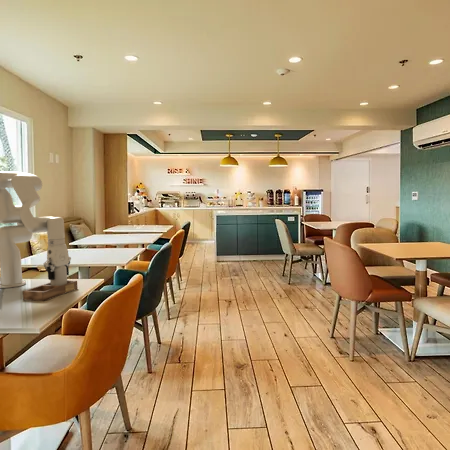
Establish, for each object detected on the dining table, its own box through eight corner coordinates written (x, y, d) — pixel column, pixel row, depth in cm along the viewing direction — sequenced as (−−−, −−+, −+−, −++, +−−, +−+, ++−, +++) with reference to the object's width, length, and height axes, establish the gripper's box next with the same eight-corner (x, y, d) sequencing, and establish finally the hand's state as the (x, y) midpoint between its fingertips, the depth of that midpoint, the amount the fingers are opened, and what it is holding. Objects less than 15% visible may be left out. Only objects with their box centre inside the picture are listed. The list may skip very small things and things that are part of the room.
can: (52, 287, 178) (50, 263, 177) (68, 286, 180) (67, 262, 179) (49, 291, 171) (47, 266, 170) (66, 289, 173) (64, 265, 172)
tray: (23, 299, 161) (22, 291, 161) (58, 287, 182) (57, 279, 182) (44, 301, 158) (44, 292, 158) (78, 288, 179) (77, 280, 179)
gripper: (49, 245, 164) (52, 281, 166) (75, 240, 181) (77, 273, 182) (36, 244, 166) (38, 281, 168) (62, 240, 183) (64, 273, 184)
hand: (58, 277), depth 175 cm, fingers open, 9 cm apart
